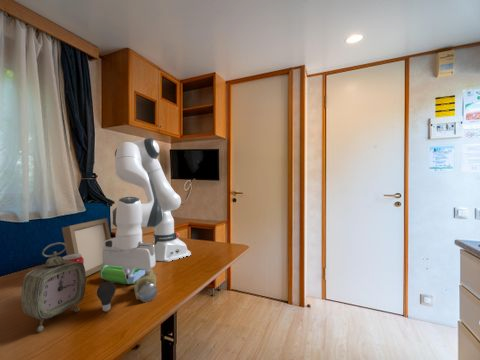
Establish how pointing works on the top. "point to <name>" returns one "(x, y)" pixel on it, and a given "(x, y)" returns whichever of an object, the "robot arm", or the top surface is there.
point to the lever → (138, 275)
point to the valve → (146, 287)
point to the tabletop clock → (53, 287)
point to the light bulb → (106, 294)
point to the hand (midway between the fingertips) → (129, 278)
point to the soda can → (74, 258)
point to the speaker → (114, 274)
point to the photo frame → (87, 242)
